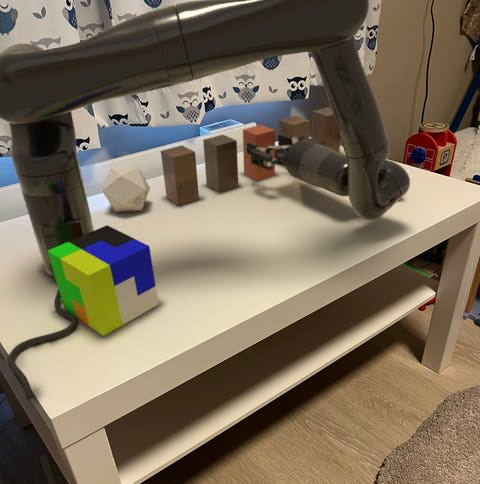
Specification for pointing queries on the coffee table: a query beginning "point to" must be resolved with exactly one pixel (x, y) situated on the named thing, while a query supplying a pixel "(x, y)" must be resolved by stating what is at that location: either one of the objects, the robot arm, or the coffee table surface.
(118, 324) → the puzzle toy
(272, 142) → the red block
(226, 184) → the block line
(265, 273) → the coffee table surface
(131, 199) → the die
